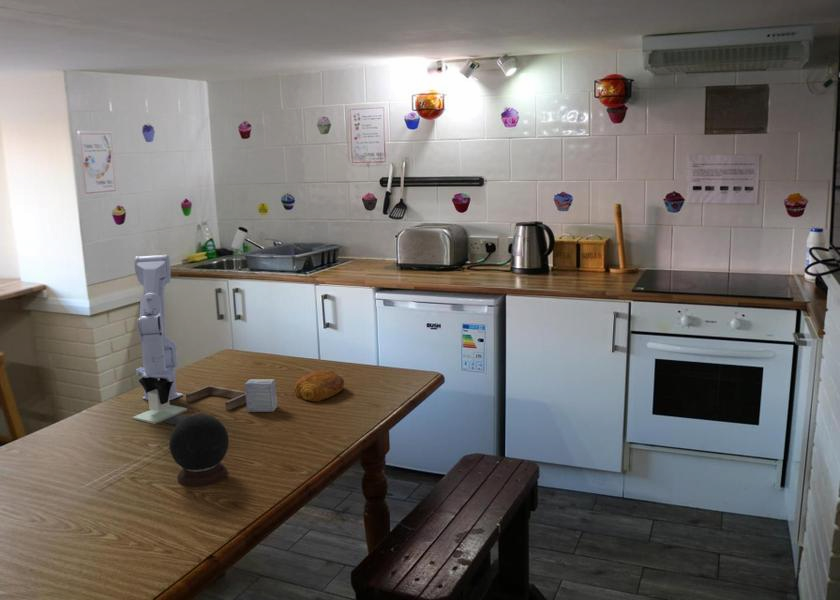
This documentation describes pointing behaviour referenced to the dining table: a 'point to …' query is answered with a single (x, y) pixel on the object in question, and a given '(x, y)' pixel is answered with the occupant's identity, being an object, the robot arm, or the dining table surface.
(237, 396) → the brown u-shaped bracket
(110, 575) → the dining table surface
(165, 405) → the cream block
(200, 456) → the black smart speaker
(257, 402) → the medicine box
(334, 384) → the croissant
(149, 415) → the pad
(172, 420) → the trap tile
